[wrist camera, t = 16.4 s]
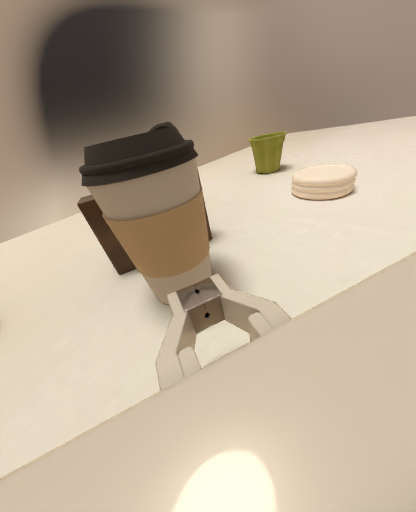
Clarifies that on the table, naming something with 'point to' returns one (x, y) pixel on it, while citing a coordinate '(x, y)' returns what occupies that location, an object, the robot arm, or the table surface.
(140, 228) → the coffee cup
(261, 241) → the table surface
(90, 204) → the walnut bookend
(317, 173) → the coaster
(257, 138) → the plant pot
